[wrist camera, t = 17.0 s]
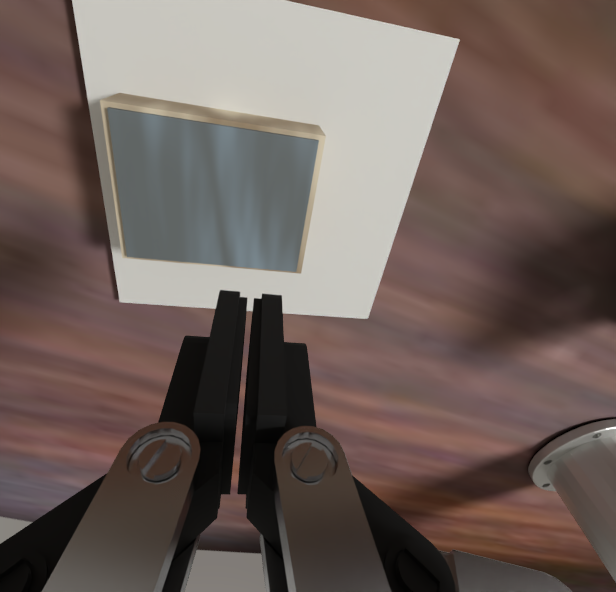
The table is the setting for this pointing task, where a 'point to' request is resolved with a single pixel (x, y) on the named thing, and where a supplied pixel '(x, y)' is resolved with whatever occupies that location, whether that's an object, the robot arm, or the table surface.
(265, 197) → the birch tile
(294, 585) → the robot arm
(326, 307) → the rubber mat
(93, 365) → the table surface
